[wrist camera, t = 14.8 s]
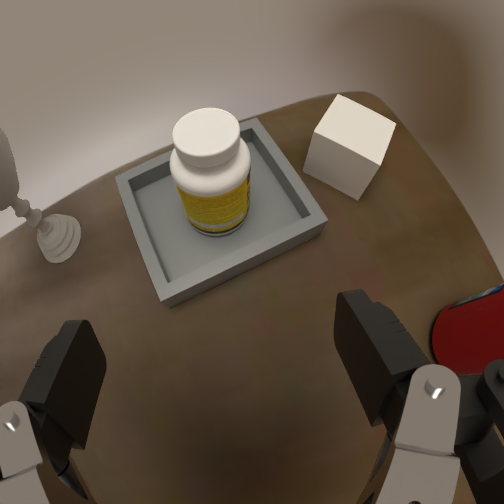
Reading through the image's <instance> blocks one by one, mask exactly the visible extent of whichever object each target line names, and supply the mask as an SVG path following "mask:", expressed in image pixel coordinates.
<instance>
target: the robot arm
mask: <svg viewBox="0 0 504 504" xmlns="http://www.w3.org/2000/svg"><path fill="white" fill-rule="evenodd" d="M334 342H335V346H336V349H337V351H338V353H339V355H340V357H341V360H342V362H343V364H344V366H345V368H346V370H347V373H348V375H349V377H350V379H351V381H352V384H353V386H354V388H355V390H356V392H357V395H358V397H359V399H360V401H361V404H362V406H363V408H364V410H365V413H366V415H367V417H368V420H369V422H370V424H371V426H372V427H374V426H377V425H380V424H383V423H384V424H385V427H386V429H387V432H386V434H385V437H384V440H383V443H382V446H381V449H380V451H379V454H378V457H377V459H376V462H375V464H374V467H373V469H372V472H371V474H370V477H369V479H368V482H367V484H366V486H365V488H364V490H363V492H362V494H361V495H360V497H359V499H358V501H357V503H356V504H452V500H453V496H454V492H455V488H456V483H457V479H458V474H459V469H460V465H461V467H462V469H463V472H464V474H465V476H466V478H467V481H468V483H469V486H470V488H471V490H472V493H473V495H474V498H475V500H476V503H477V504H504V447H503V445H502V443H501V441H500V439H499V437H498V435H497V434H496V432H495V430H494V428H493V427H494V426H495V425H496V426H497V428H498V429H499V431H500V433H501V435H502V437H503V438H504V360H502V359H498V360H493V361H491V362H490V363H489V364H488V365H487V366H486V368H485V369H484V371H483V373H482V375H473V376H462V377H457V376H456V374H455V373H454V372H453V371H451V370H450V369H448V368H447V367H444V366H441V365H436V364H431V363H430V361H429V360H428V359H427V357H426V356H425V354H424V353H423V352H422V350H421V349H420V347H419V346H418V345H417V343H416V342H415V341H414V339H413V338H412V337H411V335H410V334H409V332H406V328H405V327H404V326H403V324H402V323H400V321H399V319H398V318H397V317H396V315H395V314H394V313H393V311H392V310H391V309H389V308H388V307H386V306H384V305H383V304H381V303H380V302H375V303H372V301H371V300H370V299H369V297H368V296H367V294H366V293H365V292H364V291H363V290H362V289H359V290H353V291H347V292H341V293H338V295H337V301H336V312H335V322H334ZM105 373H106V358H105V354H104V352H103V350H102V348H101V346H100V344H99V342H98V339H97V337H96V335H95V333H94V331H93V328H92V326H91V324H90V323H89V321H87V320H69V321H66V322H65V323H64V324H63V326H62V328H61V329H60V331H59V333H58V335H57V336H55V337H54V338H53V339H52V340H51V341H50V342H49V343H48V344H47V345H46V346H45V348H44V350H43V351H42V353H41V355H40V359H38V361H37V363H36V365H35V368H34V369H33V371H32V373H31V375H30V377H29V379H28V381H27V383H26V385H25V387H24V389H23V391H22V393H21V395H20V398H19V400H18V401H11V402H8V403H6V404H4V405H2V406H1V407H0V504H97V503H96V502H95V500H94V498H93V496H92V495H91V493H90V491H89V489H88V487H87V486H86V484H85V482H84V480H83V478H82V476H81V474H80V472H79V470H78V468H77V466H76V464H75V462H74V460H73V458H72V457H71V456H70V455H69V454H70V450H71V448H75V449H82V450H84V449H85V445H86V441H87V437H88V433H89V429H90V425H91V421H92V418H93V414H94V410H95V407H96V403H97V399H98V396H99V393H100V389H101V386H102V383H103V379H104V376H105ZM453 449H454V451H455V454H456V455H454V453H453Z"/></svg>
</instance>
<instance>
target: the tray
mask: <svg viewBox="0 0 504 504" xmlns="http://www.w3.org/2000/svg"><path fill="white" fill-rule="evenodd" d="M239 127H240V137H241V138H242V139H243V141H244V142H245V143H246V145H247V147H248V149H249V152H250V157H251V170H250V204H249V212H248V215H247V217H246V219H245V221H244V222H243V224H242V225H241V226H240V227H239V228H237V229H236V230H235V231H233V232H231V233H229V234H226V235H221V236H210V235H206V234H203V233H201V232H199V231H197V230H196V229H195V228H194V227H193V226H192V225H191V224H190V223H189V221H188V219H187V217H186V214H185V211H184V208H183V206H182V203H181V200H180V197H179V194H178V191H177V189H176V186H175V183H174V180H173V177H172V174H171V171H170V157H171V154H172V151H173V150H171V151H169V152H167V153H164V154H162V155H160V156H158V157H155V158H153V159H151V160H149V161H147V162H145V163H142V164H140V165H138V166H136V167H134V168H132V169H130V170H128V171H126V172H124V173H122V174H120V175H118V176H116V177H115V179H116V182H117V185H118V188H119V192H120V195H121V198H122V201H123V204H124V207H125V210H126V213H127V216H128V218H129V221H130V224H131V227H132V230H133V233H134V235H135V238H136V241H137V243H138V246H139V249H140V251H141V254H142V257H143V259H144V262H145V264H146V267H147V269H148V272H149V274H150V277H151V279H152V282H153V284H154V287H155V289H156V291H157V294H158V296H159V299H160V301H161V302H162V303H164V304H165V305H167V306H168V307H169V308H172V307H174V306H176V305H178V304H180V303H182V302H184V301H186V300H188V299H190V298H193V297H195V296H197V295H199V294H201V293H203V292H205V291H207V290H209V289H211V288H213V287H215V286H217V285H219V284H221V283H223V282H226V281H228V280H230V279H232V278H234V277H236V276H238V275H240V274H242V273H244V272H246V271H248V270H250V269H252V268H254V267H256V266H258V265H260V264H262V263H264V262H266V261H268V260H270V259H272V258H274V257H276V256H278V255H280V254H282V253H284V252H286V251H288V250H290V249H292V248H294V247H296V246H298V245H300V244H302V243H304V242H306V241H308V240H310V239H312V238H314V237H316V236H318V235H320V234H321V232H322V230H323V228H324V227H325V225H326V223H327V221H328V219H327V218H326V216H325V214H324V213H323V211H322V210H321V208H320V207H319V205H318V204H317V202H316V201H315V199H314V198H313V196H312V195H311V193H310V192H309V190H308V189H307V187H306V186H305V184H304V183H303V181H302V180H301V179H300V177H299V176H298V174H297V173H296V171H295V170H294V168H293V167H292V166H291V164H290V163H289V161H288V160H287V159H286V157H285V156H284V154H283V153H282V152H281V150H280V149H279V147H278V146H277V145H276V143H275V142H274V141H273V139H272V138H271V136H270V135H269V134H268V132H267V131H266V130H265V128H264V127H263V126H262V124H261V123H260V122H259V120H258V119H257V118H254V119H251V120H248V121H245V122H242V123H239Z"/></svg>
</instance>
